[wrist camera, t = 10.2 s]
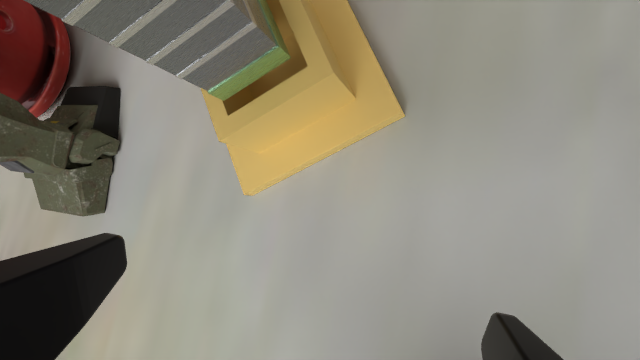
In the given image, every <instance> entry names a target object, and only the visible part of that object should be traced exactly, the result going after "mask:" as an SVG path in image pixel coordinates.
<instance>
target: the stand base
mask: <svg viewBox="0 0 640 360" xmlns="http://www.w3.org/2000/svg"><path fill="white" fill-rule="evenodd" d="M266 1H267V3H268V5H269V8H270V10H271V12H272V15H273V17H274V19H275V22H276V24H277V26H278V29H279V31H280V33H281V36H282V38H283V40H284V43H285V45H286V47H287V50H288V52H289V54H290V57H291V58H290V59H289V60H287V61H286V62H284V63H282V64H281V65H279V66H278V67H276V68H275V69H273V70H272V71H270V72H268V73H267V74H265V75H264V76H262V77H261V78H259V79H257V80H256V81H254V82H253V83H251V84H250V85H248V86H247V87H245V88H243V89H242V90H240V91H239V92H237V93H236V94H234V95H233V96H231V97H229V98H228V99H226V100H224V101H223V100H221V99H219V98H217V97H214V96H212V95H210V94H208V92H207V91H206V90H204V89H202V88H201V91H202V94H203V97H204V99H205V102H206V105H207V108H208V111H209V114H210V117H211V120H212V122H213V125H214V128H215V131H216V134H217V137H218V140H219V141H220V142H223V143H226V145H227V148H228V150H229V153H230V156H231V159H232V162H233V165H234V167H235V170H236V173H237V176H238V179H239V182H240V184H241V187H242V190H243V193H244V195H252V196H253V195H255V194H257V193H259V192H261V191H262V190H264V189H266V188H268V187H270V186H272V185H274V184H276V183H278V182H280V181H282V180H284V179H286V178H287V177H289V176H291V175H293V174H295V173H297V172H299V171H301V170H303V169H305V168H307V167H309V166H311V165H313V164H314V163H316V162H318V161H320V160H322V159H324V158H326V157H328V156H330V155H332V154H334V153H336V152H338V151H339V150H341V149H343V148H345V147H347V146H349V145H351V144H353V143H355V142H357V141H359V140H361V139H363V138H364V137H366V136H368V135H370V134H372V133H374V132H376V131H378V130H380V129H382V128H384V127H386V126H388V125H390V124H391V123H393V122H395V121H397V120H399V119H401V118H403V117H405V115H404V113H403V111H402V109H401V107H400V105H399V103H398V101H397V99H396V97H395V95H394V93H393V91H392V89H391V87H390V85H389V83H388V81H387V79H386V77H385V75H384V73H383V71H382V69H381V67H380V65H379V63H378V61H377V59H376V57H375V55H374V53H373V51H372V49H371V47H370V45H369V43H368V41H367V39H366V37H365V35H364V33H363V31H362V29H361V27H360V25H359V23H358V21H357V19H356V17H355V15H354V13H353V11H352V9H351V7H350V5H349V3H348V1H347V0H266Z"/></svg>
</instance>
